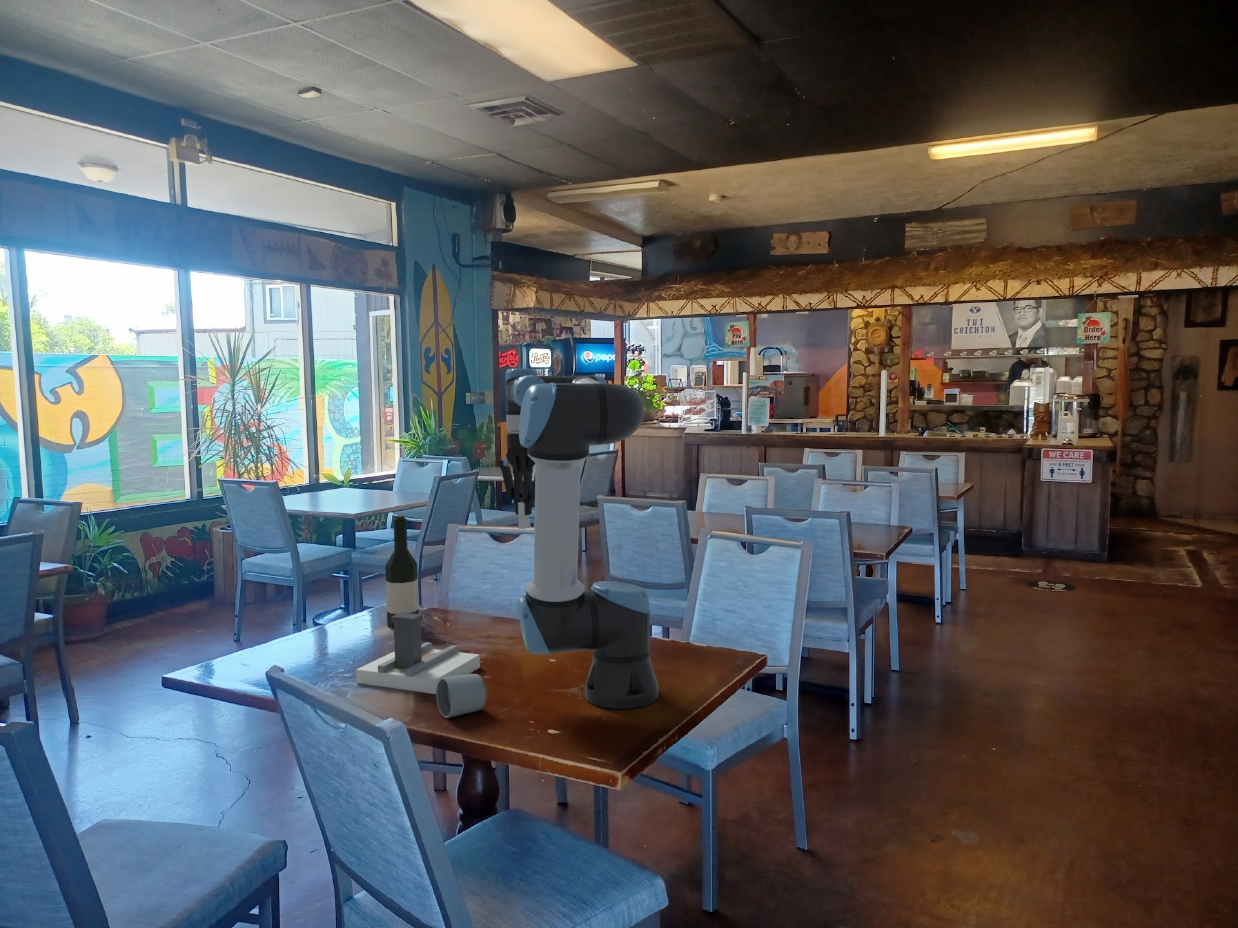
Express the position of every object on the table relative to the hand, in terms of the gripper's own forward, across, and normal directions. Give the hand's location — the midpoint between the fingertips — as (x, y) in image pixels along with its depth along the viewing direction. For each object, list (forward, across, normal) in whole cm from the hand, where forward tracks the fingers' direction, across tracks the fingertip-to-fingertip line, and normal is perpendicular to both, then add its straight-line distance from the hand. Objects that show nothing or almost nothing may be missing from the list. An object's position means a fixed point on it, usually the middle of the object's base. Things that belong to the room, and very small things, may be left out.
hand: (523, 527), depth 204 cm
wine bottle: (+30, +40, -5) cm, 50 cm away
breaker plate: (+29, +12, +28) cm, 42 cm away
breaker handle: (+26, +12, +32) cm, 43 cm away
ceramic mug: (+30, -8, +43) cm, 53 cm away
